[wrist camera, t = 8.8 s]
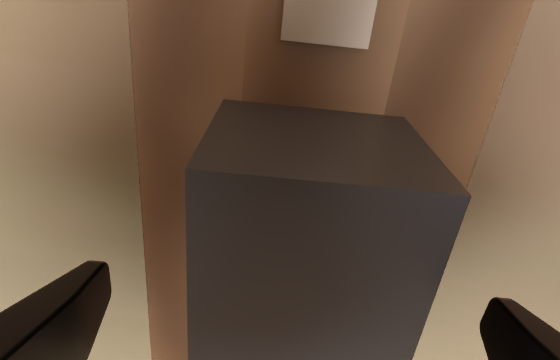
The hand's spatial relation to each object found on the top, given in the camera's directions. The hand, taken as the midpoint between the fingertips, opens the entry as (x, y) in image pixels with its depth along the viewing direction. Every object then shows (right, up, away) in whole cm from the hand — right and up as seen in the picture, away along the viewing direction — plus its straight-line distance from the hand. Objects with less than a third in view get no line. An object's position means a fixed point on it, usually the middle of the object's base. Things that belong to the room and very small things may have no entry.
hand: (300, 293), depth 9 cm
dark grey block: (0, +3, +6) cm, 7 cm away
